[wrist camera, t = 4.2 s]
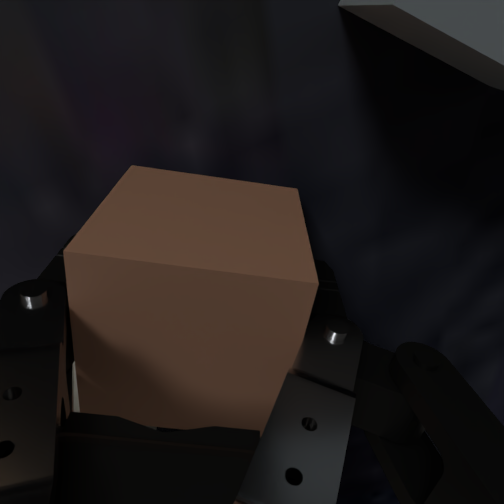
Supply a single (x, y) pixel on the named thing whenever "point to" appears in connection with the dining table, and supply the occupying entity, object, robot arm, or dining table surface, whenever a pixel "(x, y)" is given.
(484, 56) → the blue-grey cube
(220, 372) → the terracotta cube
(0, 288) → the dining table surface
